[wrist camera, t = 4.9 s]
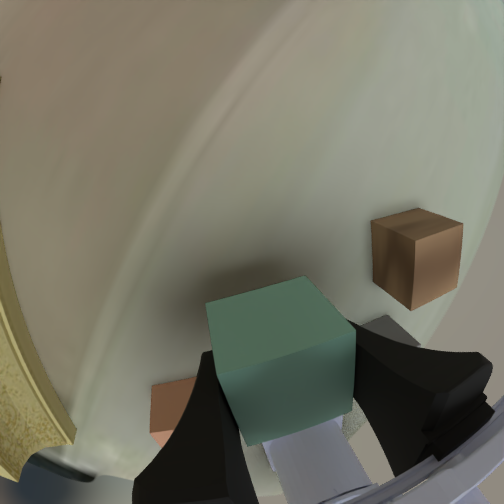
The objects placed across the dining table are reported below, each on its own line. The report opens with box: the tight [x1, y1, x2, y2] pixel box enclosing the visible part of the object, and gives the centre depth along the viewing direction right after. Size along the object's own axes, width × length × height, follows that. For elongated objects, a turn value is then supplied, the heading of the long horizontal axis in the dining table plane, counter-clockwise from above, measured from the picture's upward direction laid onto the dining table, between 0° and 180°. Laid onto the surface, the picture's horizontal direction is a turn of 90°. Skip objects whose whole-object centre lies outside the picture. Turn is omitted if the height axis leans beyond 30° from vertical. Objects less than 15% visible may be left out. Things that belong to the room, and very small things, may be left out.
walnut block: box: [371, 208, 463, 311], centre depth 17 cm, size 4×4×4 cm
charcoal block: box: [361, 315, 421, 348], centre depth 19 cm, size 4×4×4 cm
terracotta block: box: [150, 377, 196, 448], centre depth 17 cm, size 4×4×4 cm
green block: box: [205, 276, 356, 447], centre depth 11 cm, size 4×4×4 cm
